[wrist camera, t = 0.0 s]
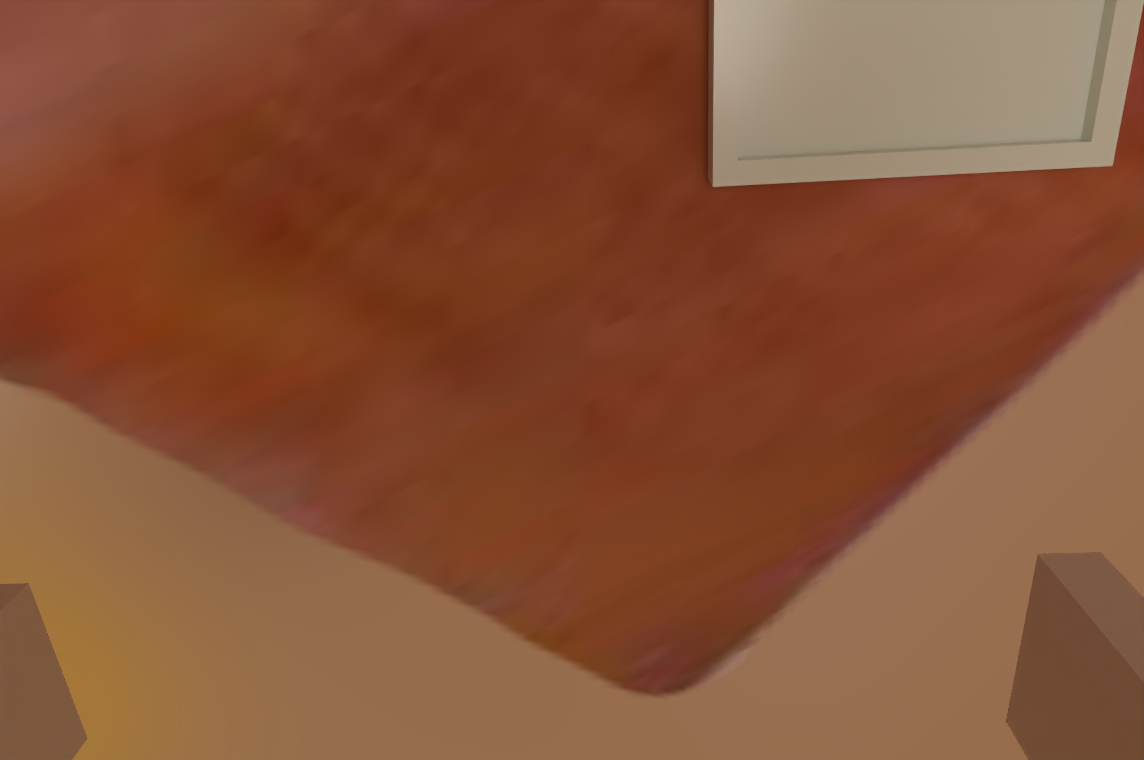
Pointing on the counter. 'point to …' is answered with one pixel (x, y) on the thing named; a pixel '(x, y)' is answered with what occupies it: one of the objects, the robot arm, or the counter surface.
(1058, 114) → the plate
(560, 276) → the counter surface
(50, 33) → the counter surface
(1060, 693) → the robot arm
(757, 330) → the counter surface
